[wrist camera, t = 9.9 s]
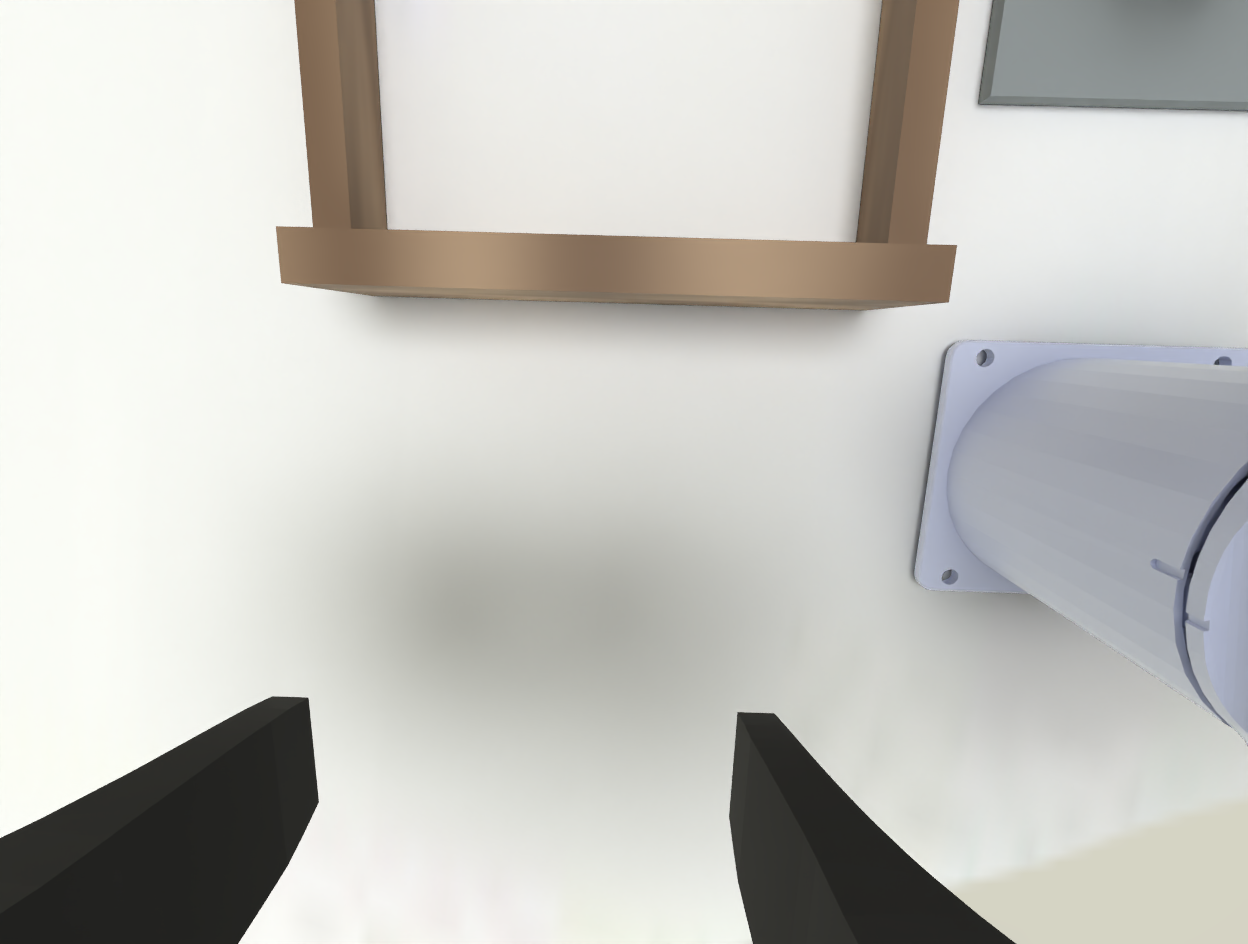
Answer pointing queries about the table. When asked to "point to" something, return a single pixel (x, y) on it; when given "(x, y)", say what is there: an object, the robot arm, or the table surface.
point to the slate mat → (1118, 54)
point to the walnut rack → (621, 265)
